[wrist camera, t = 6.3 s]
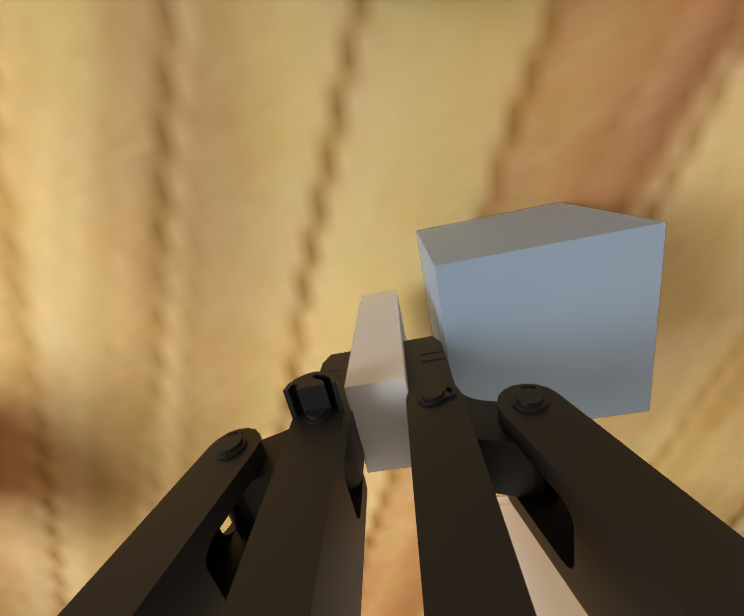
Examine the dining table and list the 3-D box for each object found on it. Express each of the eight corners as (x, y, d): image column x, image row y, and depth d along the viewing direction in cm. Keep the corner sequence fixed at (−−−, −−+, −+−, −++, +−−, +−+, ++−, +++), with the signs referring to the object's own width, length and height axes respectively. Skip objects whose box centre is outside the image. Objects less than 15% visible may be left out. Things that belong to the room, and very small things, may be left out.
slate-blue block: (416, 230, 15) (434, 265, 10) (559, 202, 15) (666, 221, 9) (435, 351, 17) (459, 436, 12) (561, 330, 17) (649, 410, 11)
